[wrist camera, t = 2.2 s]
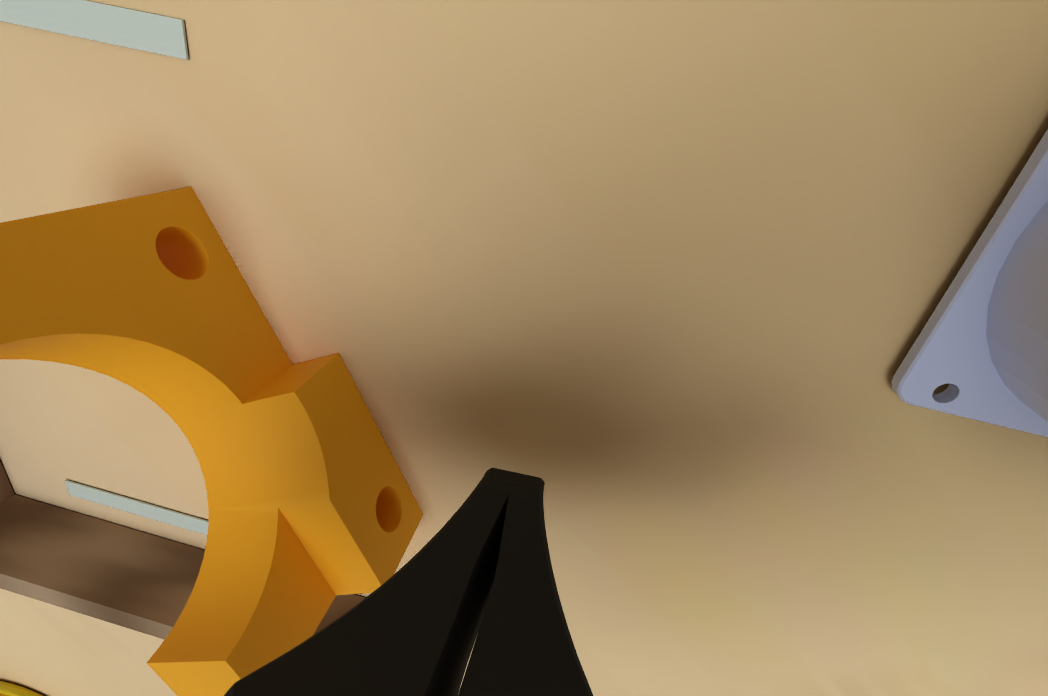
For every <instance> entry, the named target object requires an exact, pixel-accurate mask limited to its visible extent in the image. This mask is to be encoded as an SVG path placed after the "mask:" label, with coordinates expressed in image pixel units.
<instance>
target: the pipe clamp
mask: <svg viewBox="0 0 1048 696" xmlns="http://www.w3.org/2000/svg"><path fill="white" fill-rule="evenodd" d="M0 359H30V360H42V361H52V362H58V363H64V364H70V365H75V366H79V367H83V368H86V369H90V370H94V371H96V372H99V373H102V374H105V375H108V376H110V377H113V378H115V379H117V380H119V381H121V382H123V383H125V384H128V385H129V386H131V387H133V388H134V389H136V390H138V391H139V392H141V393H143V394H144V395H146V396H147V397H148V398H150V399H151V400H152V401H154V402H155V403H156V404H157V405H159V406H160V407H161V408H162V409H163V410H164V411H165V412H166V413H167V414H168V415H169V416H170V417H171V418H172V419H173V420H174V422H175V423H176V424H177V425H178V426H179V427H180V429H181V430H182V432H183V433H184V435H185V436H186V437H187V439H188V441H189V442H190V444H191V446H192V448H193V450H194V451H195V454H196V456H197V459H198V461H199V463H200V466H201V469H202V472H203V476H204V479H205V484H206V489H207V495H208V507H209V525H208V535H207V543H206V548H205V553H204V558H203V561H202V565H201V568H200V571H199V575H198V577H197V580H196V583H195V585H194V588H193V590H192V593H191V595H190V597H189V599H188V601H187V603H186V605H185V607H184V609H183V611H182V613H181V615H180V616H179V618H178V620H177V622H176V623H175V625H174V627H173V628H172V630H171V631H170V633H169V634H168V636H167V637H166V638H165V640H164V641H163V643H162V644H161V646H160V647H159V648H158V649H157V651H156V652H155V653H154V654H153V656H152V657H151V658H150V660H149V661H148V662H147V664H148V665H149V666H150V667H151V668H152V669H153V670H154V671H155V672H156V673H157V675H158V676H159V677H160V678H161V679H162V680H163V681H164V682H165V683H166V684H167V685H168V686H169V687H170V688H171V689H172V691H173V692H174V693H175V694H176V695H177V696H224V695H225V693H226V692H227V691H228V690H229V689H230V688H231V686H232V685H233V684H234V683H235V682H237V681H238V680H240V679H242V678H244V677H245V676H247V675H249V674H251V673H252V672H254V671H256V670H257V669H259V668H261V667H262V666H264V665H266V664H268V663H269V662H271V661H273V660H274V659H276V658H278V657H280V656H281V655H283V654H285V653H286V652H288V651H290V650H291V649H293V648H295V647H296V646H298V645H299V644H301V643H302V642H304V641H305V640H307V639H308V638H310V637H311V636H313V634H314V632H315V631H316V629H317V627H318V626H319V624H320V622H321V620H322V619H323V617H324V615H325V614H326V612H327V610H328V609H329V607H330V605H331V603H332V602H333V600H334V598H335V597H336V595H348V594H362V593H372V592H374V591H375V590H376V589H377V588H379V587H380V586H381V585H382V584H384V583H385V582H386V581H387V580H388V579H389V578H391V577H392V576H393V575H394V573H395V571H396V569H397V567H398V565H399V563H400V561H401V559H402V557H403V555H404V553H405V551H406V549H407V547H408V545H409V543H410V541H411V538H412V536H413V534H414V532H415V530H416V528H417V526H418V524H419V522H420V520H421V518H422V516H423V513H422V511H421V509H420V507H419V505H418V504H417V502H416V500H415V498H414V496H413V494H412V492H411V490H410V488H409V486H408V484H407V482H406V481H405V479H404V477H403V475H402V473H401V471H400V469H399V467H398V465H397V463H396V461H395V459H394V458H393V456H392V454H391V452H390V450H389V448H388V446H387V444H386V442H385V440H384V438H383V436H382V434H381V433H380V431H379V429H378V427H377V425H376V423H375V421H374V419H373V417H372V415H371V413H370V411H369V410H368V408H367V406H366V404H365V402H364V400H363V398H362V396H361V394H360V392H359V390H358V388H357V386H356V385H355V383H354V381H353V379H352V377H351V375H350V373H349V371H348V369H347V367H346V365H345V363H344V362H343V360H342V358H341V356H340V354H339V353H337V354H333V355H329V356H325V357H321V358H317V359H313V360H309V361H305V362H301V363H297V364H293V365H292V363H291V361H290V359H289V358H288V356H287V354H286V352H285V351H284V349H283V347H282V345H281V344H280V342H279V340H278V338H277V336H276V335H275V333H274V331H273V329H272V328H271V326H270V324H269V322H268V321H267V319H266V317H265V315H264V314H263V312H262V310H261V308H260V306H259V305H258V303H257V301H256V299H255V298H254V296H253V294H252V292H251V291H250V289H249V287H248V285H247V284H246V282H245V280H244V278H243V277H242V275H241V273H240V271H239V269H238V268H237V266H236V264H235V262H234V261H233V259H232V257H231V255H230V254H229V252H228V250H227V248H226V247H225V245H224V243H223V241H222V239H221V238H220V236H219V234H218V232H217V231H216V229H215V227H214V225H213V224H212V222H211V220H210V218H209V217H208V215H207V213H206V211H205V210H204V208H203V206H202V204H201V202H200V201H199V199H198V197H197V195H196V194H195V192H194V190H193V188H192V187H186V188H181V189H176V190H171V191H165V192H160V193H155V194H150V195H144V196H139V197H134V198H129V199H123V200H118V201H113V202H108V203H102V204H97V205H92V206H87V207H81V208H76V209H71V210H66V211H60V212H55V213H50V214H45V215H39V216H34V217H29V218H24V219H19V220H13V221H8V222H3V223H0Z"/></svg>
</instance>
